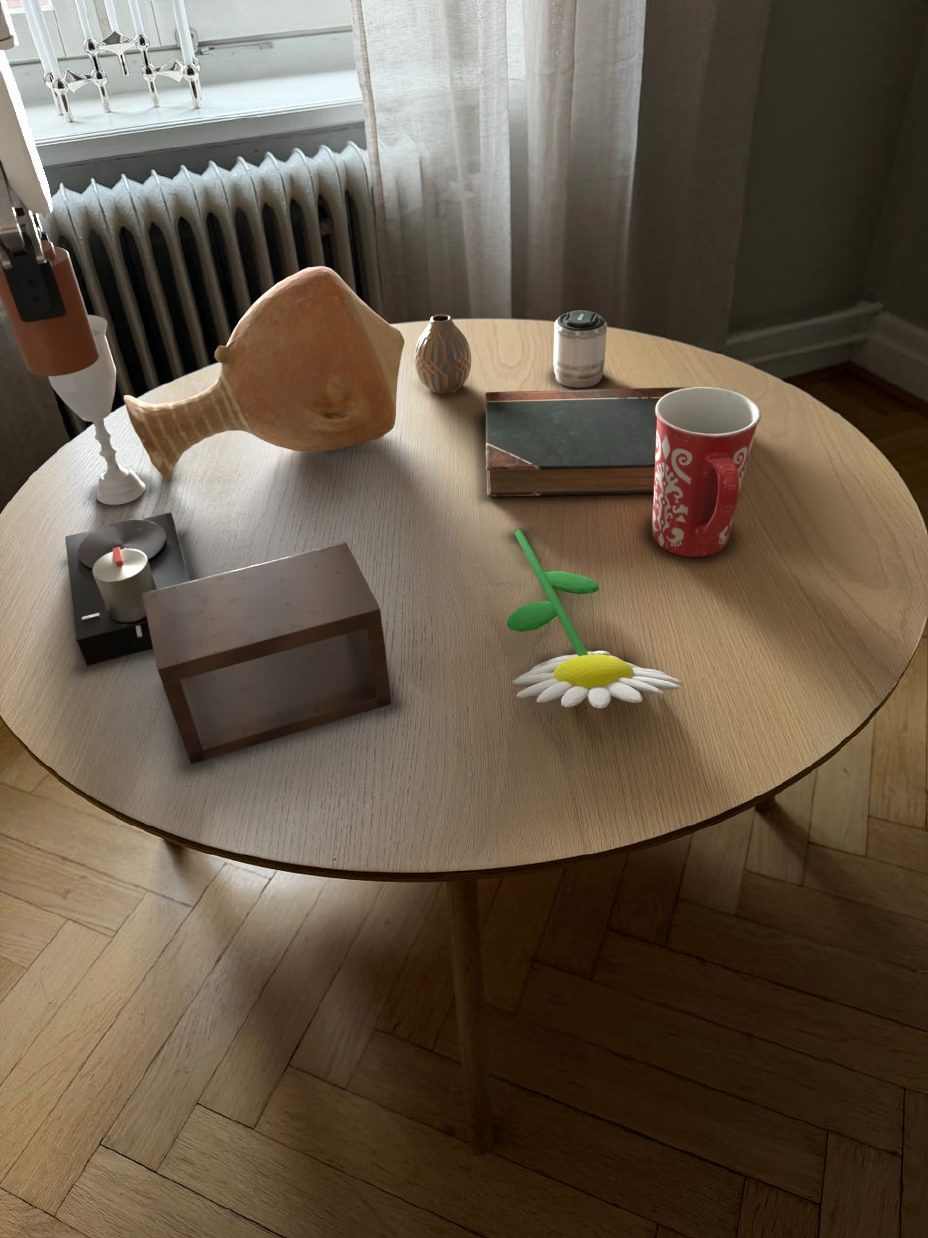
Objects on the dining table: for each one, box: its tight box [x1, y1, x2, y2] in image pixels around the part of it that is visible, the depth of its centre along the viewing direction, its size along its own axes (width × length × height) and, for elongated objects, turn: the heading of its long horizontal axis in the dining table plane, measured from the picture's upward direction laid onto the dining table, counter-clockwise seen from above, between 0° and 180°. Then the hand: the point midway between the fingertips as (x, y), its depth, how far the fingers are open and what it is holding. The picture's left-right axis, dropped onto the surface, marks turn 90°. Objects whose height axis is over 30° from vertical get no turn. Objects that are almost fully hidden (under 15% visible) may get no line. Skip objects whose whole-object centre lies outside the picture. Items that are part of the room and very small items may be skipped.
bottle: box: [0, 226, 100, 377], centre depth 70 cm, size 6×6×10 cm
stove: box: [64, 511, 191, 667], centre depth 83 cm, size 10×18×3 cm, turn 21°
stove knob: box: [92, 547, 157, 623], centre depth 77 cm, size 4×4×5 cm
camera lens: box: [553, 309, 608, 389], centre depth 112 cm, size 6×6×8 cm
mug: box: [651, 386, 762, 558], centre depth 83 cm, size 13×9×14 cm
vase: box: [414, 313, 472, 394], centre depth 112 cm, size 7×7×9 cm
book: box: [484, 386, 696, 498], centre depth 100 cm, size 17×4×25 cm
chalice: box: [47, 314, 146, 506], centre depth 93 cm, size 7×7×18 cm
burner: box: [78, 518, 167, 570], centre depth 86 cm, size 8×8×1 cm
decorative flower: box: [505, 529, 684, 710], centre depth 78 cm, size 13×5×30 cm
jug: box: [123, 265, 406, 481], centre depth 98 cm, size 20×19×30 cm
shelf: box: [142, 542, 393, 765], centre depth 71 cm, size 16×9×10 cm, turn 111°
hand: (42, 300), depth 70 cm, fingers closed on bottle, 5 cm apart
